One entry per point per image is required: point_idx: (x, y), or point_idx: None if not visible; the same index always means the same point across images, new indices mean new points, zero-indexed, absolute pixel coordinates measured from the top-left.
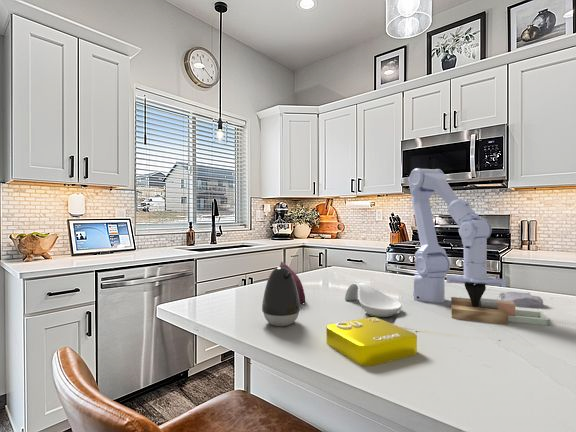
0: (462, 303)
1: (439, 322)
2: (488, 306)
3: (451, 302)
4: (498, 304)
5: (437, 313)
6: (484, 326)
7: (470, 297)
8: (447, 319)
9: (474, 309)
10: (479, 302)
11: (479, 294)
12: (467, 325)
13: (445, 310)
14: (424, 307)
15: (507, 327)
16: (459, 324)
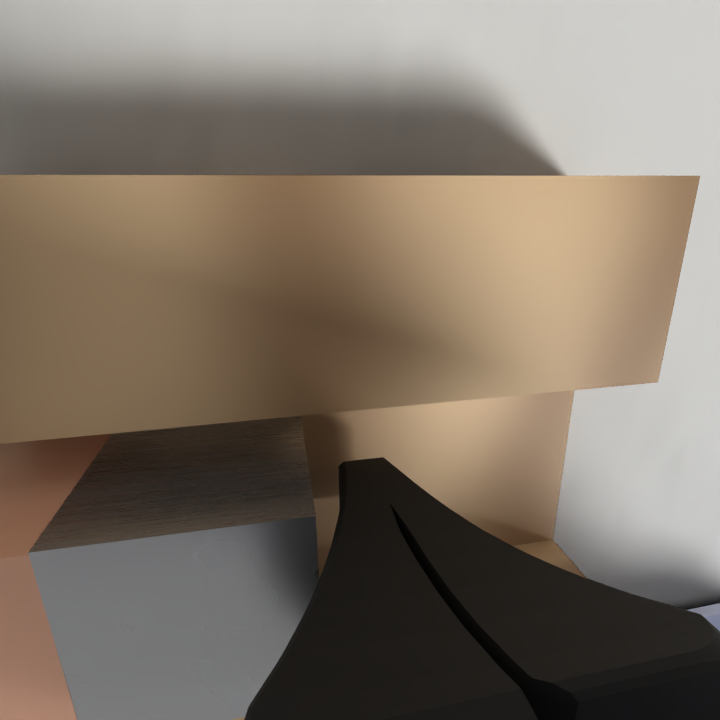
0: None
1: (691, 98)
2: (205, 486)
3: None
4: (31, 535)
5: (651, 412)
6: (264, 141)
7: (490, 538)
8: None
9: (403, 270)
10: None
11: (364, 606)
12: (438, 101)
13: (573, 535)
14: (715, 535)
15: None
16: (514, 106)
